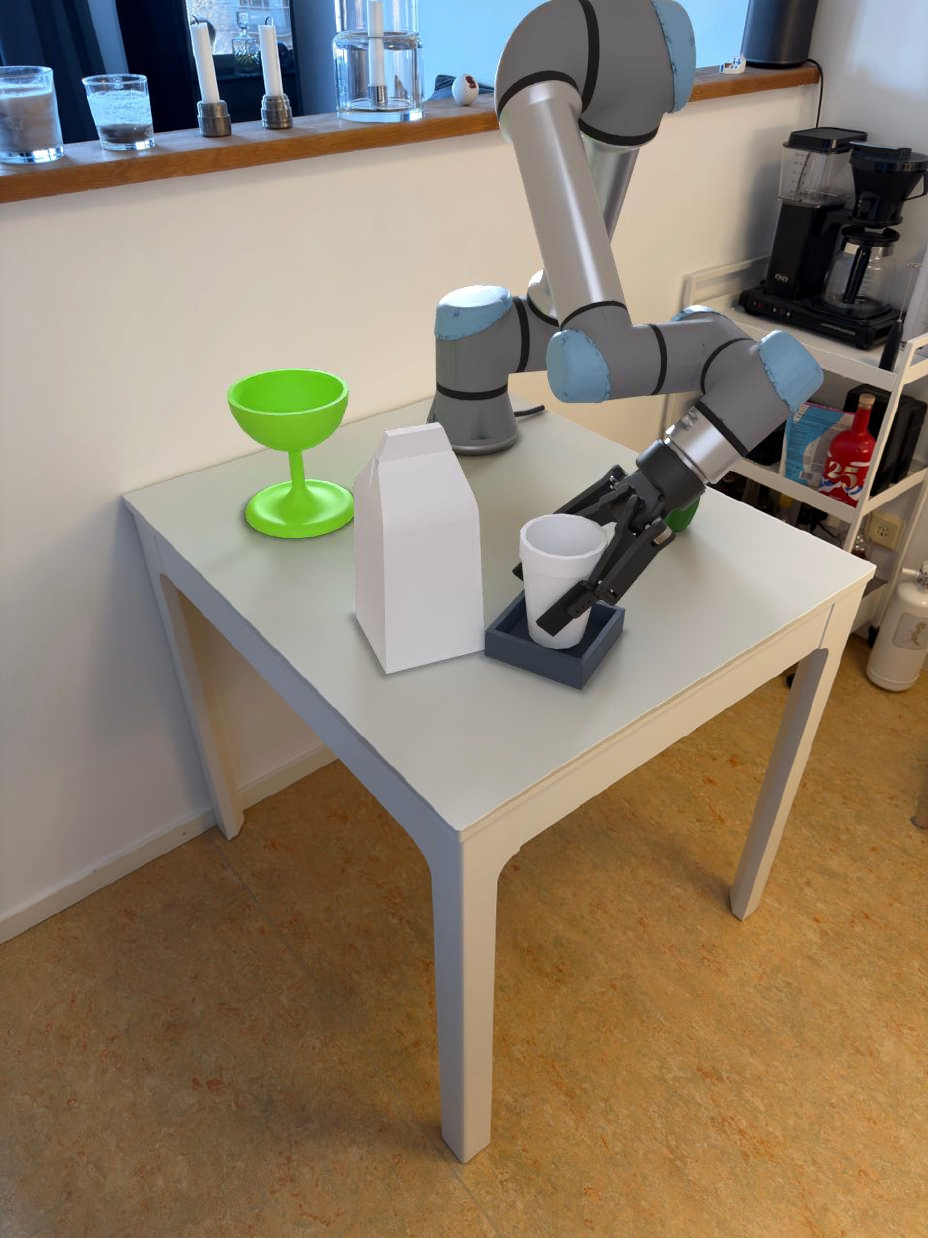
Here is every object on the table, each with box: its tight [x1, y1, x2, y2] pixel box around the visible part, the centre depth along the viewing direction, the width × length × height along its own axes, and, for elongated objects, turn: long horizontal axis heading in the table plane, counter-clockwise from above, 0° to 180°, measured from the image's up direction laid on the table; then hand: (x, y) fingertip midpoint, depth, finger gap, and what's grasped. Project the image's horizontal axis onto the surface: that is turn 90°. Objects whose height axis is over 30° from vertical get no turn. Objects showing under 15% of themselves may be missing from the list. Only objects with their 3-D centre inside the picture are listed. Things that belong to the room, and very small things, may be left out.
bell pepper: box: [665, 495, 702, 532], centre depth 124 cm, size 8×8×10 cm
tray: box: [484, 587, 626, 691], centre depth 104 cm, size 12×12×4 cm
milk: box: [353, 422, 485, 675], centre depth 98 cm, size 12×12×26 cm
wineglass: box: [226, 367, 354, 539], centre depth 124 cm, size 16×16×18 cm
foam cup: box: [519, 513, 609, 649], centre depth 100 cm, size 10×9×13 cm
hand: (531, 602), depth 100 cm, fingers closed on foam cup, 9 cm apart
